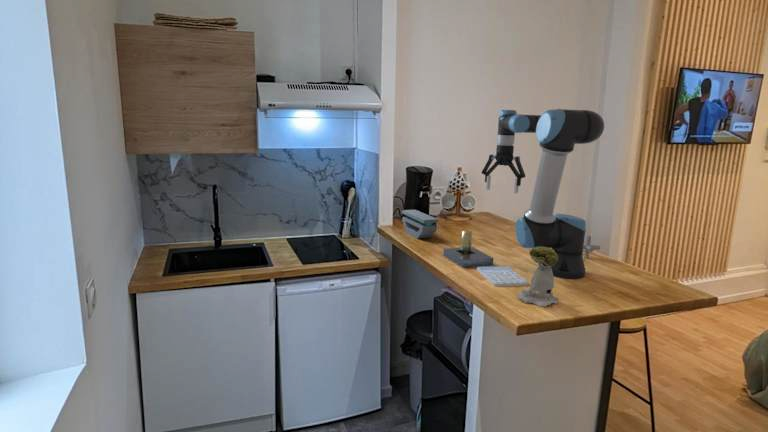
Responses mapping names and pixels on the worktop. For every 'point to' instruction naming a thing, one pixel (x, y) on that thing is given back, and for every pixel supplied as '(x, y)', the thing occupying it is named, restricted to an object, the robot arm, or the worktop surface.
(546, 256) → the mossy stone tower
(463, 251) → the brushed metal cylinder
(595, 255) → the worktop surface
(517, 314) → the worktop surface
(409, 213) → the grey boxy piece
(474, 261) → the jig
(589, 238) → the pipe connector
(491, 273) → the calculator
